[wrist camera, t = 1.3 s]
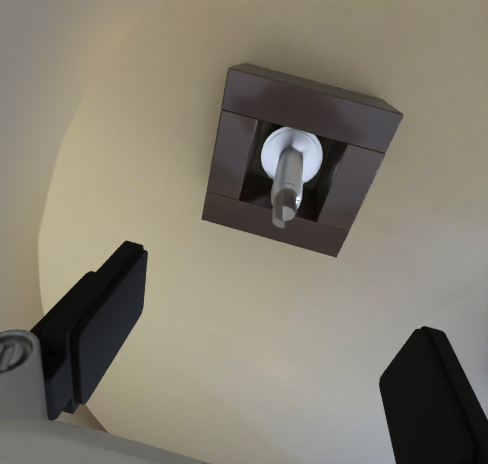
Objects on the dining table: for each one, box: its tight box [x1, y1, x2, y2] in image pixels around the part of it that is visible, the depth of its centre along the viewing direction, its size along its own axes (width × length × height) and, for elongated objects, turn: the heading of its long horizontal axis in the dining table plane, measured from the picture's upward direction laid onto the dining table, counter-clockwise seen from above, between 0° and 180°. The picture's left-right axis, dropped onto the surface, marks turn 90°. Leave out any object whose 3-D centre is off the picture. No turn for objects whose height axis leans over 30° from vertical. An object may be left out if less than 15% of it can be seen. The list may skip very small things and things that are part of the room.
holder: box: [202, 63, 403, 257], centre depth 25 cm, size 11×11×6 cm
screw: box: [261, 126, 323, 228], centre depth 22 cm, size 13×5×5 cm
